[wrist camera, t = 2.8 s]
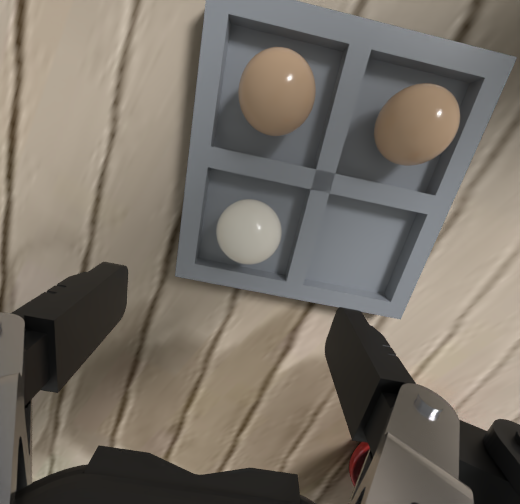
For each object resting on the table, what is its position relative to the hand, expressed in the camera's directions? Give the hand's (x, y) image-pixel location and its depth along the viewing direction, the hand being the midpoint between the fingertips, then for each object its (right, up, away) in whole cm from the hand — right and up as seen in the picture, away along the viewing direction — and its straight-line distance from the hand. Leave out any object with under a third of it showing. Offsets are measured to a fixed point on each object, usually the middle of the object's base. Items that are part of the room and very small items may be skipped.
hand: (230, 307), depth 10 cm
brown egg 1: (+2, +12, +7) cm, 15 cm away
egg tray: (+6, +8, +13) cm, 16 cm away
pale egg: (0, +4, +11) cm, 11 cm away
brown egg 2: (+11, +11, +8) cm, 18 cm away
